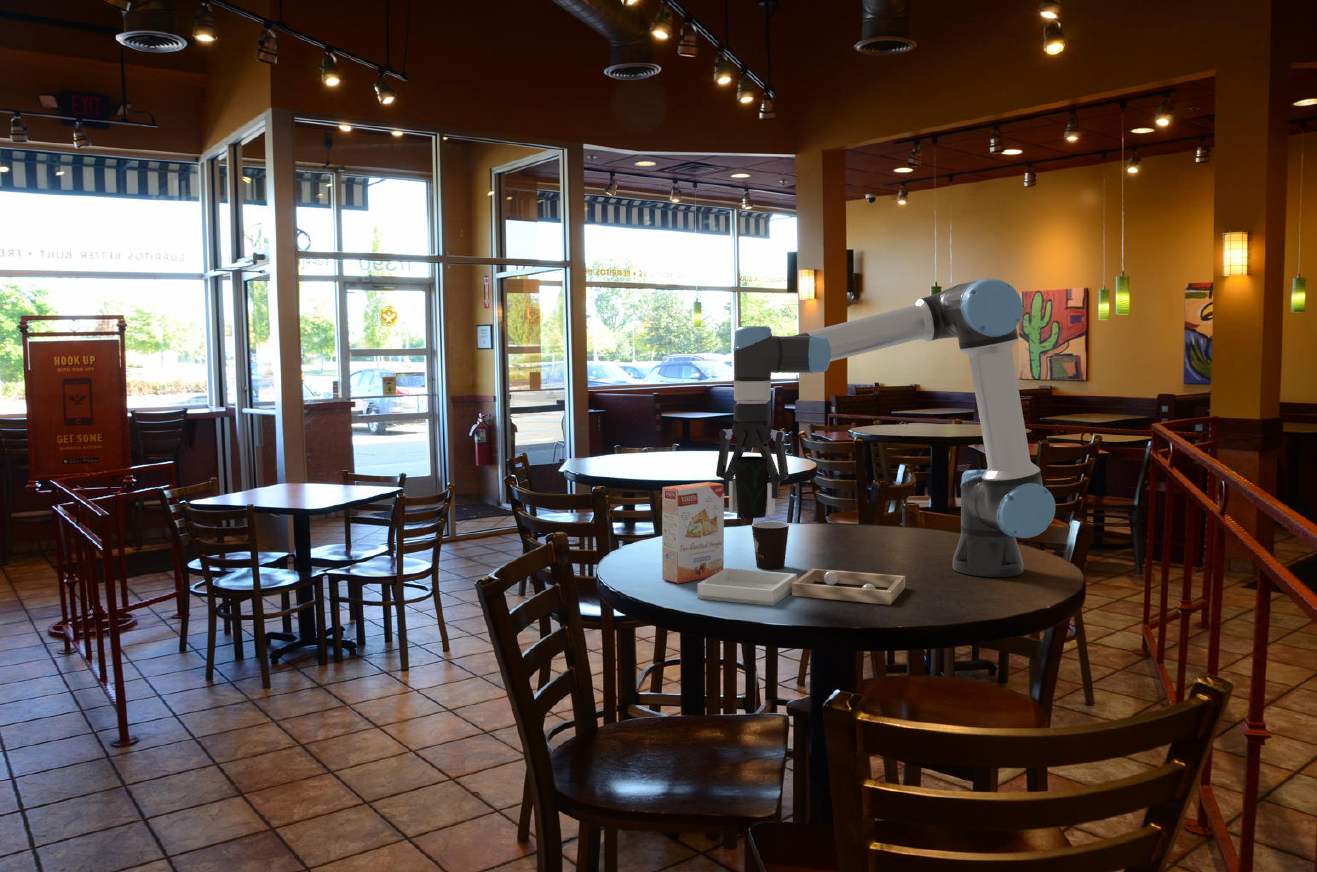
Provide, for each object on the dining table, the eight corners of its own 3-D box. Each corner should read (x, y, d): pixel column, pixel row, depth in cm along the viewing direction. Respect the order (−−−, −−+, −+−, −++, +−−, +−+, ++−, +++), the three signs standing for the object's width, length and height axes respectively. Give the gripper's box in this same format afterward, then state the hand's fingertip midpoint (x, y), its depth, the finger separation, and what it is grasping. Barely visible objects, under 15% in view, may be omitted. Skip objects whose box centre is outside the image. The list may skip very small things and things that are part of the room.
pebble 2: (877, 597, 192) (877, 582, 192) (874, 601, 189) (874, 586, 189) (862, 596, 193) (862, 581, 193) (859, 599, 191) (859, 584, 191)
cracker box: (679, 585, 206) (678, 489, 204) (661, 580, 210) (660, 486, 208) (726, 575, 215) (725, 483, 213) (707, 570, 219) (706, 480, 218)
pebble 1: (839, 584, 204) (839, 570, 204) (836, 587, 201) (836, 573, 201) (825, 582, 205) (826, 569, 205) (822, 585, 203) (822, 572, 203)
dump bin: (796, 587, 201) (796, 574, 201) (772, 605, 187) (772, 590, 187) (725, 581, 208) (725, 568, 208) (697, 598, 194) (697, 583, 193)
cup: (746, 511, 201) (747, 455, 201) (777, 515, 197) (778, 457, 196) (726, 516, 196) (726, 458, 195) (757, 520, 191) (757, 460, 190)
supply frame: (904, 587, 200) (905, 576, 200) (890, 604, 186) (890, 592, 186) (812, 579, 208) (812, 568, 208) (792, 595, 195) (792, 583, 195)
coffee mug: (787, 571, 217) (787, 528, 216) (750, 570, 219) (749, 527, 218) (791, 561, 228) (790, 519, 228) (755, 560, 230) (754, 519, 229)
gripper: (806, 402, 193) (805, 513, 195) (712, 400, 202) (712, 507, 204) (795, 403, 187) (794, 518, 188) (698, 402, 195) (699, 512, 197)
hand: (751, 512), depth 196 cm, fingers closed on cup, 8 cm apart
